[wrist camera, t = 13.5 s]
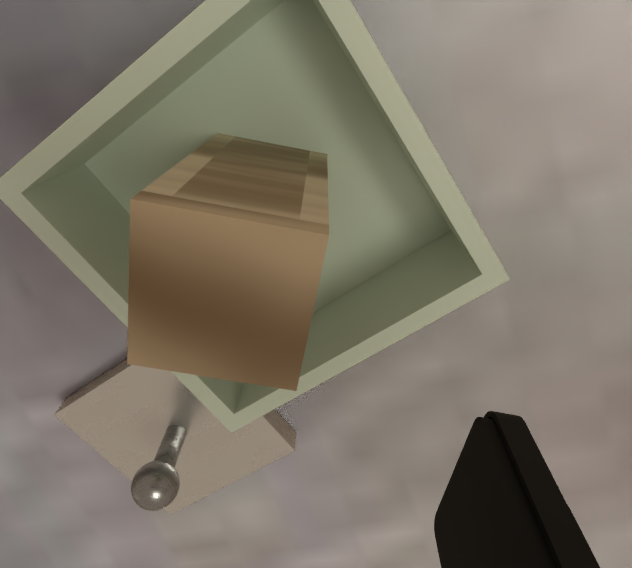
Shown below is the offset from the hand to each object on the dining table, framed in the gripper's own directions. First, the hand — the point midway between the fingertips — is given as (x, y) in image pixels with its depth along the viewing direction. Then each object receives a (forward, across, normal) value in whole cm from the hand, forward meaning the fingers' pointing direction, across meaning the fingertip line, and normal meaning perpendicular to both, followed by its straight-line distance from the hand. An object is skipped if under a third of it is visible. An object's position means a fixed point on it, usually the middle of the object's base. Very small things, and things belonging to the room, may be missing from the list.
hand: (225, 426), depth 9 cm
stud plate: (+16, +5, +15) cm, 22 cm away
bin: (+16, +1, 0) cm, 16 cm away
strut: (+15, +1, 0) cm, 15 cm away
